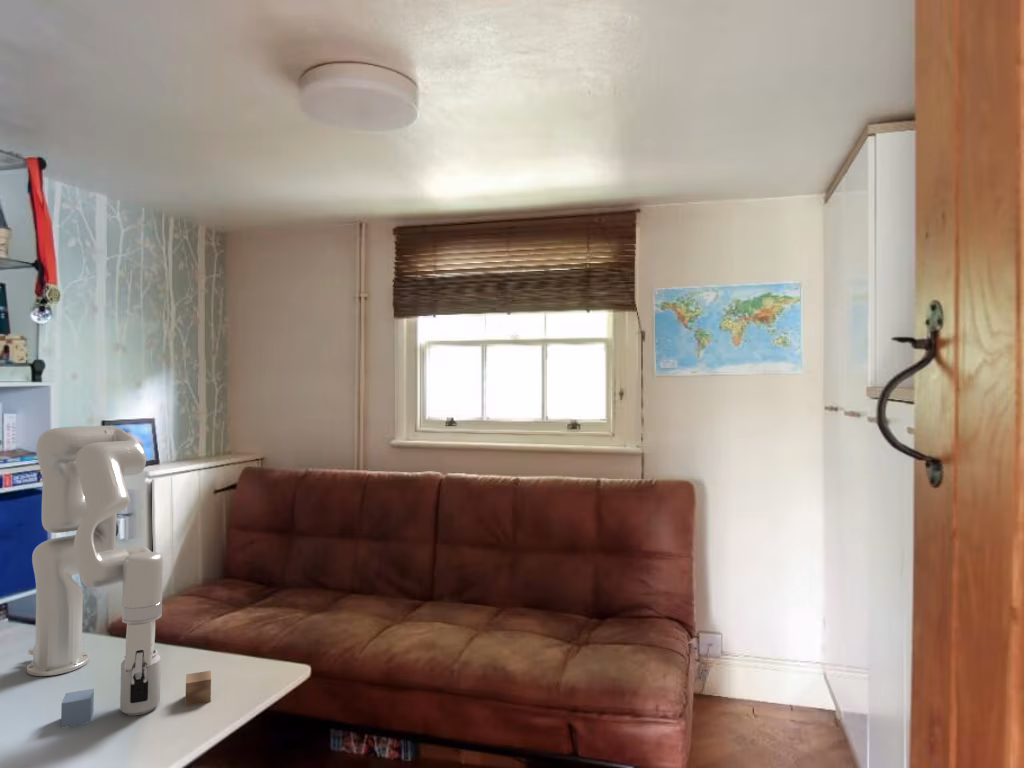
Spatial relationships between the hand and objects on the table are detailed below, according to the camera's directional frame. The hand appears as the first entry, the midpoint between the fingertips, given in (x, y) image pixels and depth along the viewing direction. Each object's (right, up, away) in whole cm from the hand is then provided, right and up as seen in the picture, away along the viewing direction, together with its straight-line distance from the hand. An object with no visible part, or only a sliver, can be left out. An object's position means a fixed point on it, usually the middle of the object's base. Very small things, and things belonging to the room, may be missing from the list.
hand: (140, 692), depth 142 cm
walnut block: (+10, -4, +5) cm, 12 cm away
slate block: (-10, -3, -5) cm, 12 cm away
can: (0, -4, 0) cm, 4 cm away
